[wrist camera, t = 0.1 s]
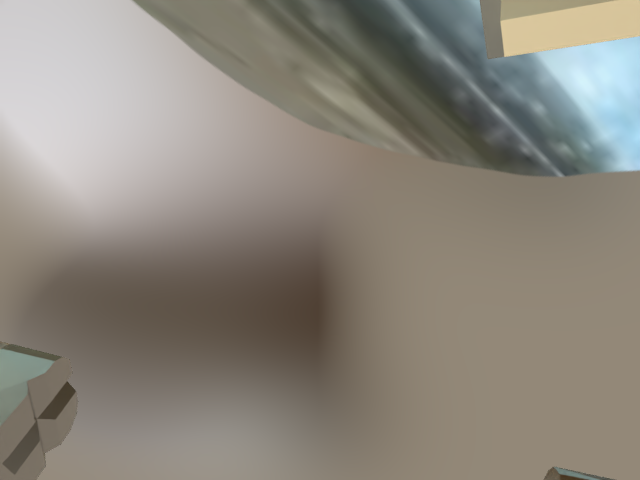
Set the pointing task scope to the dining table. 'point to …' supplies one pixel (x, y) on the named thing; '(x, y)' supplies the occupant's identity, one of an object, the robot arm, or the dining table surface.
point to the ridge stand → (555, 24)
